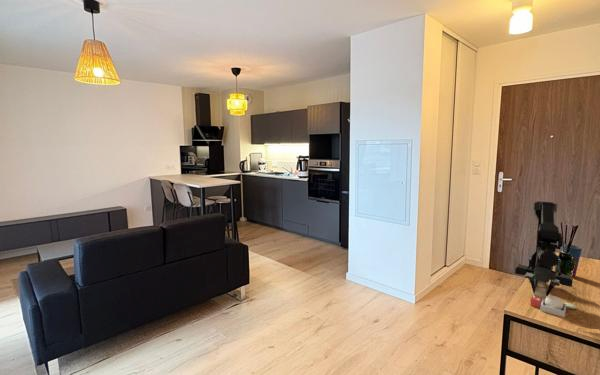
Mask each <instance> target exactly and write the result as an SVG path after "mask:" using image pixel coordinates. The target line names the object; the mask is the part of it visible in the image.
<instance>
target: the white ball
mask: <svg viewBox="0 0 600 375" xmlns="http://www.w3.org/2000/svg"><path fill="white" fill-rule="evenodd" d="M563 303H564V302H563V301H562V299H561V298H559V297H558V296H556V295H548V296H546V299H545V304H544V305H545V306H549V307H552V308H556V309H560V310H562V308H563Z"/></svg>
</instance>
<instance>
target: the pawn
mask: <svg viewBox="0 0 600 375" xmlns="http://www.w3.org/2000/svg"><path fill="white" fill-rule="evenodd" d="M547 285H548V282H547V283H546V282H543V281H538V282H537V284H536V285H535V293H533V296H535V297H538V298H541V301H542V298H545V299H546V298H547V296H546V295H547V290H548V287H549V286H547Z"/></svg>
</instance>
